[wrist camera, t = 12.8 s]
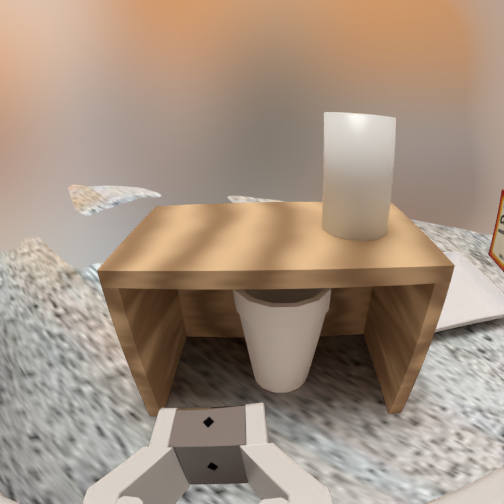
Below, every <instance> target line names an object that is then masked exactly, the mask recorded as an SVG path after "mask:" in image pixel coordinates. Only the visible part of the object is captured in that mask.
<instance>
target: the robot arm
mask: <svg viewBox="0 0 504 504" xmlns="http://www.w3.org/2000/svg"><path fill="white" fill-rule="evenodd" d="M237 483H249V485H250V486H251V488H252V489H253V490H254V491H255V492H256V494H257V495H258V496H259V497H260V498H261V500H262V501H261V502H260V503H259V504H332V501H331V497H330V493H329V489H328V488H326V487H325V486H324V485H322V484H321V483H320V482H319V481H317V480H316V479H315V478H314V477H312V476H311V475H310V474H309V473H308V472H306V471H305V470H304V469H303V468H302V467H300V466H299V465H298V464H297V463H296V462H294V461H293V460H292V459H291V458H290V457H289V456H287V455H286V454H285V453H284V452H283V451H282V450H281V449H279V448H278V447H277V446H276V445H275V444H274V443H269V442H268V434H267V426H266V418H265V409H264V403H254V404H246V405H236V406H223V407H205V408H161V409H160V410H159V412H158V416H157V419H156V422H155V426H154V429H153V433H152V436H151V439H150V443H149V446H148V447H147V446H144V447H142V448H141V449H140V450H138V451H137V452H136V453H135V454H133V455H132V456H131V457H130V458H128V459H127V460H126V461H124V462H123V463H122V464H120V465H119V466H118V467H116V468H115V469H114V470H113V471H111V472H110V473H109V474H107V475H106V476H104V477H103V478H102V479H100V480H99V481H98V482H96V483H95V484H94V485H92V486H91V487H89V488H88V490H87V493H86V495H85V498H84V501H83V503H82V504H175V503H176V502H177V501H178V500H179V498H180V497H181V496H182V495H183V494H184V492H185V491H186V490H187V489H188V488H189V486H190V485H189V484H237ZM0 504H20V503H18V502H15V501H13V500H11V499H8V498H6V497H4V496H1V495H0ZM425 504H504V465H503V466H501V467H499V468H498V469H496V470H494V471H492V472H491V473H489V474H487V475H485V476H483V477H481V478H479V479H478V480H476V481H474V482H472V483H470V484H468V485H466V486H464V487H462V488H459V489H457V490H455V491H453V492H451V493H449V494H446V495H444V496H442V497H439V498H437V499H435V500H432V501H430V502H427V503H425Z"/></svg>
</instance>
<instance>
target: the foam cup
mask: <svg viewBox="0 0 504 504" xmlns="http://www.w3.org/2000/svg"><path fill="white" fill-rule="evenodd" d="M233 295H234V302H235V306H236V311H237V312H238V313H239V315H240V319H241V323H242V328H243V332H244V336H245V340H246V344H247V348H248V352H249V357H250V361H251V365H252V369H253V373H254V377H255V380H256V382H257V383H258V384H259V385H260V386H261V387H262V388H263V389H266V390H269V391H271V392H274V393H286V392H290V391H293V390H295V389H298V388H299V387H300V386H301V385H302V384H303V383H304V382H305V381H306V378H307V376H308V373H309V369H310V366H311V363H312V360H313V356H314V353H315V350H316V346H317V343H318V339H319V336H320V332H321V329H322V325H323V322H324V318H325V314H326V313H327V312H328V311H329V304H330V296H331V288H308V289H233Z"/></svg>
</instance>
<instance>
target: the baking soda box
mask: <svg viewBox="0 0 504 504" xmlns="http://www.w3.org/2000/svg"><path fill="white" fill-rule="evenodd" d="M488 255H489V256H490V257H491V258H492V259H493V260H494V261H495V262H496V264H497V265H498V266H499V267H500V268H501V269H502V270H503V272H504V190H502V192H501V198H500V205H499V210H498V214H497V219H496V224H495V229H494V233H493V237H492V242H491V246H490V250H489V253H488Z"/></svg>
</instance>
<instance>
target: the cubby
mask: <svg viewBox="0 0 504 504" xmlns="http://www.w3.org/2000/svg"><path fill="white" fill-rule="evenodd" d="M322 204H323V202H262V203H225V204H224V203H223V204H197V205H175V206H156V207H155V208H154V209H153V210H152V211H151V212H150V213H149V214H148V215H147V216H146V217H145V218H144V220H142V221H141V223H140V224H139V225H138V226H137V227H136V228H135V229H134V230H133V231H132V232H131V233H130V234H129V236H127V238H126V239H125V240H124V241H123V242H122V243H121V244H120V245H119V246H118V247H117V249H116V250H115V251H114V252H113V253H112V254H111V255H110V257H109V258H108V259H107V260H106V261H105V262H104V263H103V264H102V265H101V267H100V268H99V269H98V270H97V272H98V276H99V279H100V283H101V286H102V290H103V293H104V296H105V299H106V303H107V306H108V309H109V312H110V315H111V318H112V321H113V324H114V327H115V330H116V333H117V336H118V339H119V341H120V344H121V347H122V350H123V352H124V355H125V358H126V360H127V363H128V365H129V368H130V370H131V373H132V375H133V378H134V380H135V383H136V385H137V388H138V390H139V392H140V395H141V397H142V399H143V401H144V404H145V406H146V408H147V410H148V413H149V415H150V416H158V412H159V410H160V409H161V408H166V404H167V401H168V397H169V394H170V390H171V387H172V383H173V380H174V377H175V373H176V370H177V367H178V363H179V360H180V357H181V353H182V350H183V347H184V344H185V340H186V337H187V336H192V337H234V338H245V336H244V332H243V328H242V323H241V319H240V315H239V313H238V312H237V311H236V306H235V302H234V295H233V289H308V288H331V296H330V304H329V311H328V312H327V313H326V314H325V318H324V322H323V325H322V329H321V332H320V336H337V335H355V334H363V335H364V337H365V340H366V343H367V346H368V349H369V352H370V355H371V358H372V361H373V365H374V368H375V371H376V374H377V377H378V380H379V384H380V387H381V390H382V393H383V397H384V400H385V403H386V407H387V410H388V414H393V413H400V412H402V409H403V407H404V405H405V403H406V401H407V399H408V397H409V395H410V392H411V390H412V388H413V386H414V383H415V381H416V379H417V376H418V374H419V372H420V369H421V367H422V364H423V362H424V359H425V357H426V354H427V352H428V349H429V346H430V344H431V341H432V338H433V336H434V333H435V330H436V327H437V324H438V321H439V318H440V315H441V312H442V309H443V306H444V303H445V299H446V296H447V293H448V289H449V286H450V282H451V278H452V275H453V271H454V267H455V265H454V264H453V263H452V262H451V261H450V260H449V259H448V257H447V256H446V255H445V254H444V253H443V252H442V251H441V250H440V249H439V248H438V247H437V246H436V245H435V244H434V243H433V242H432V241H431V240H430V239H429V238H428V237H427V236H426V235H425V234H424V233H423V232H422V231H421V230H420V229H419V228H418V227H417V226H416V225H415V224H414V223H413V222H412V221H411V220H410V219H408V218H407V217H406V216H405V215H404V214H403V213H402V212H401V211H400V210H399V209H398V208H397V207H396V206H395V205H393V204H392V203H390V211H389V220H388V228H387V234H386V235H385V236H384V237H382V238H380V239H377V240H372V241H353V240H346V239H342V238H338V237H335V236H332V235H330V234H328V233H327V232H325V231H324V230H323V228H322Z"/></svg>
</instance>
